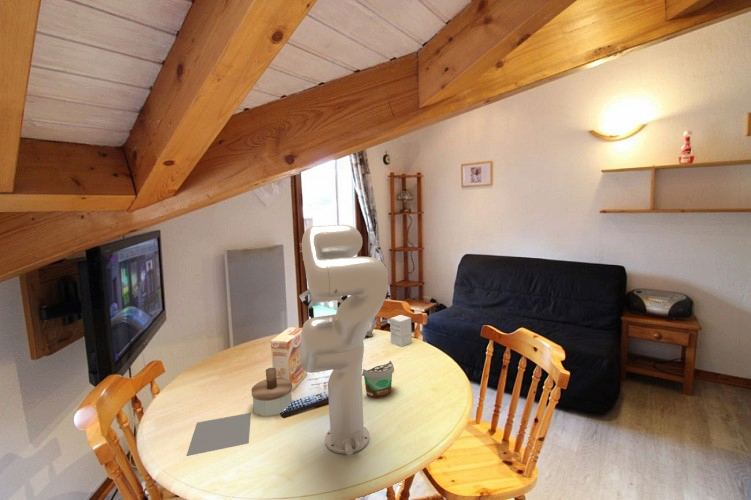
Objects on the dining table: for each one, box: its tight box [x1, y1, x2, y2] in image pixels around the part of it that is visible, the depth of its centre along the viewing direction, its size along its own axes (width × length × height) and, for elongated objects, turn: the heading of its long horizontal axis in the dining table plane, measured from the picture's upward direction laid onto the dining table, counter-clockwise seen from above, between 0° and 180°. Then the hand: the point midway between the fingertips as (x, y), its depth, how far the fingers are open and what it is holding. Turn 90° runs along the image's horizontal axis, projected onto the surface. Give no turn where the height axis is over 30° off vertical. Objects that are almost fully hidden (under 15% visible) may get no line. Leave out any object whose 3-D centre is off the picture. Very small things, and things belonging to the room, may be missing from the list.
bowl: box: [252, 391, 293, 418], centre depth 121 cm, size 12×12×6 cm
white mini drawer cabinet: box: [389, 314, 413, 348], centre depth 173 cm, size 7×7×13 cm
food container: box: [362, 360, 395, 399], centre depth 127 cm, size 12×6×10 cm, turn 123°
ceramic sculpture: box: [365, 320, 374, 337], centre depth 182 cm, size 11×9×15 cm
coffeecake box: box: [270, 326, 308, 393], centre depth 137 cm, size 15×7×20 cm, turn 167°
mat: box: [185, 412, 252, 457], centre depth 108 cm, size 16×16×1 cm
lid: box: [250, 367, 292, 401], centre depth 120 cm, size 13×13×7 cm
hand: (326, 316), depth 124 cm, fingers open, 9 cm apart
